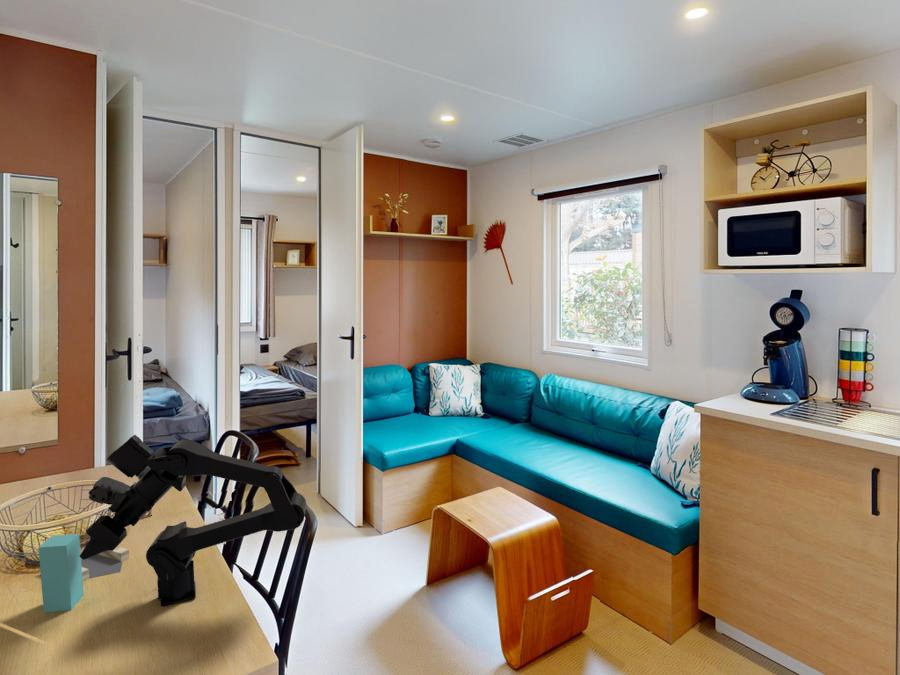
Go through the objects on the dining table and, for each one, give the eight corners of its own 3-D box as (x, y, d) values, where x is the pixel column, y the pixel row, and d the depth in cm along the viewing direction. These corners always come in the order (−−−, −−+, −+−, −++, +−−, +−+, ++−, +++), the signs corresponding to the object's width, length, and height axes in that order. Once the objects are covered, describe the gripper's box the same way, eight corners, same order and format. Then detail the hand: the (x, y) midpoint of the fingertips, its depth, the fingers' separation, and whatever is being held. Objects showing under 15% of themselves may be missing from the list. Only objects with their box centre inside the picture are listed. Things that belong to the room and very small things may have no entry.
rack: (129, 557, 129) (128, 549, 129) (80, 582, 118) (79, 573, 118) (98, 548, 133) (98, 540, 133) (48, 571, 123) (47, 563, 122)
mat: (125, 549, 133) (125, 548, 133) (120, 573, 123) (120, 571, 122) (66, 560, 128) (66, 559, 128) (56, 586, 117) (55, 584, 117)
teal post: (83, 597, 113) (79, 533, 112) (71, 611, 109) (66, 545, 107) (57, 599, 113) (52, 535, 111) (44, 614, 108) (38, 547, 106)
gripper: (134, 451, 118) (82, 502, 118) (94, 482, 100) (32, 544, 100) (175, 483, 121) (124, 534, 120) (143, 520, 102) (83, 580, 102)
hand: (93, 546), depth 110 cm, fingers open, 9 cm apart
